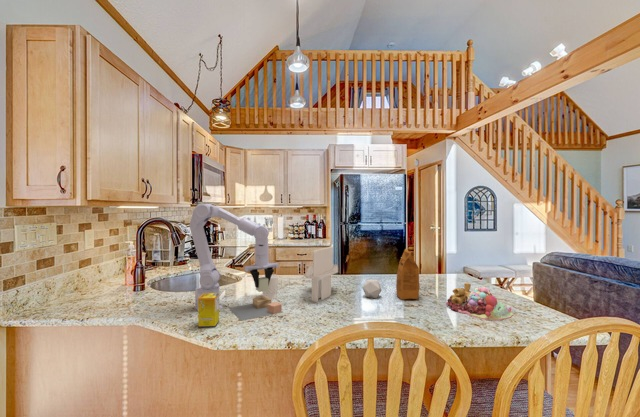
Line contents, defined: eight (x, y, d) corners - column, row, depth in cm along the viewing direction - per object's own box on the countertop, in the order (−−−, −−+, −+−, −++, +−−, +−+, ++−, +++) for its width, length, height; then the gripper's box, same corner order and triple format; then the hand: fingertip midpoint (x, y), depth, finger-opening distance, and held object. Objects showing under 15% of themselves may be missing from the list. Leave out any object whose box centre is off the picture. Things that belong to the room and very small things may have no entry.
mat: (241, 321, 116) (241, 320, 116) (228, 308, 131) (228, 307, 131) (282, 312, 126) (282, 312, 126) (266, 301, 140) (266, 301, 140)
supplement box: (203, 322, 116) (202, 293, 116) (219, 321, 116) (219, 292, 116) (197, 328, 110) (197, 297, 110) (215, 328, 110) (215, 297, 110)
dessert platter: (436, 307, 133) (436, 286, 133) (462, 297, 148) (462, 277, 148) (500, 325, 114) (500, 300, 114) (522, 311, 129) (522, 288, 129)
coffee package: (415, 293, 153) (415, 248, 153) (421, 301, 141) (421, 252, 140) (394, 292, 154) (394, 248, 154) (398, 300, 142) (398, 252, 141)
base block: (257, 309, 129) (257, 301, 129) (252, 305, 134) (252, 298, 134) (271, 306, 133) (271, 299, 133) (265, 302, 138) (265, 295, 138)
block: (273, 314, 124) (273, 306, 123) (267, 311, 126) (267, 304, 126) (281, 311, 126) (281, 304, 126) (275, 309, 129) (275, 301, 129)
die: (383, 296, 149) (374, 278, 154) (385, 292, 142) (376, 273, 146) (368, 303, 148) (359, 285, 153) (369, 299, 141) (360, 280, 145)
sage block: (259, 291, 130) (259, 280, 130) (256, 289, 134) (256, 278, 134) (268, 290, 133) (268, 278, 133) (264, 288, 136) (264, 276, 136)
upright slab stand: (302, 287, 164) (302, 242, 164) (342, 287, 163) (342, 243, 163) (294, 304, 136) (294, 251, 136) (343, 305, 135) (343, 251, 135)
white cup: (269, 301, 141) (269, 279, 141) (257, 298, 146) (257, 276, 145) (281, 297, 147) (281, 275, 147) (270, 294, 152) (270, 273, 152)
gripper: (248, 257, 126) (248, 291, 126) (281, 254, 134) (281, 285, 134) (242, 255, 132) (243, 287, 132) (274, 252, 140) (274, 282, 140)
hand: (261, 286), depth 133 cm, fingers closed on sage block, 4 cm apart
